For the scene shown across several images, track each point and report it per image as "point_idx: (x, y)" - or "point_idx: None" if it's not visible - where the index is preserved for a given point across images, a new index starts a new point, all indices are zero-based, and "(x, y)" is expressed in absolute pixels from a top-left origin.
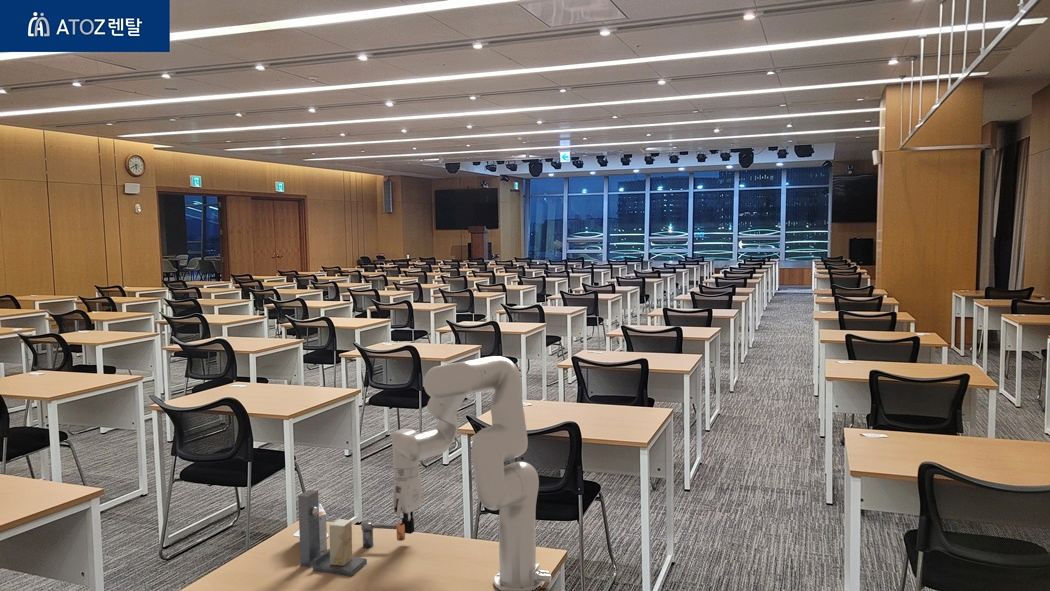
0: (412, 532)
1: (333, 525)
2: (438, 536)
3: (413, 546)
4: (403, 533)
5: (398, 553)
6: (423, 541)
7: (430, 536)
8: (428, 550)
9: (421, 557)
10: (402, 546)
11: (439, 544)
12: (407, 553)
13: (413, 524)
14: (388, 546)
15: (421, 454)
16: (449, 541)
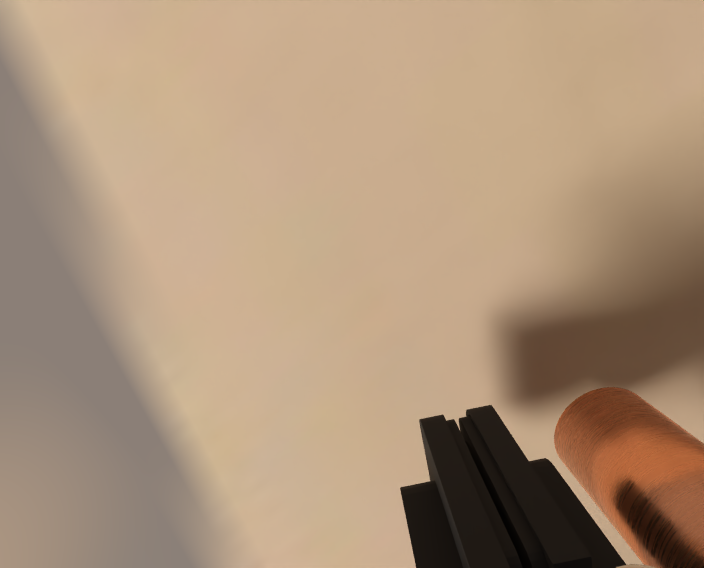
0: (444, 420)
1: None
2: (119, 245)
3: (477, 299)
4: (678, 436)
5: (682, 311)
6: (321, 296)
7: (175, 321)
8: (492, 81)
9: (688, 20)
10: (526, 389)
11: (289, 78)
12: (650, 234)
13: (461, 488)
14: (580, 490)
15: None
16: (148, 23)
